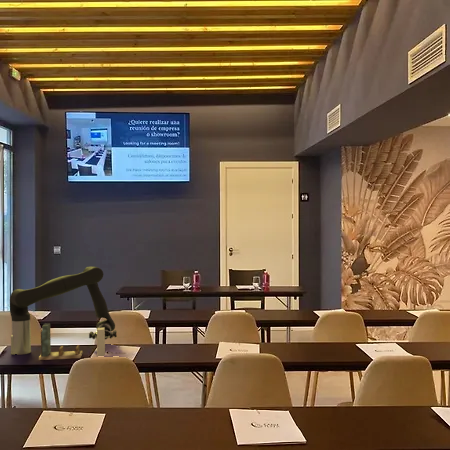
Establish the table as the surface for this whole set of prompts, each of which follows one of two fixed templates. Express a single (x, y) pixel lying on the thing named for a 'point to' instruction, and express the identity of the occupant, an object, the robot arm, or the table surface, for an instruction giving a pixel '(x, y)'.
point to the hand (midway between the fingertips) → (102, 336)
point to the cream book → (100, 341)
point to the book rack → (46, 347)
